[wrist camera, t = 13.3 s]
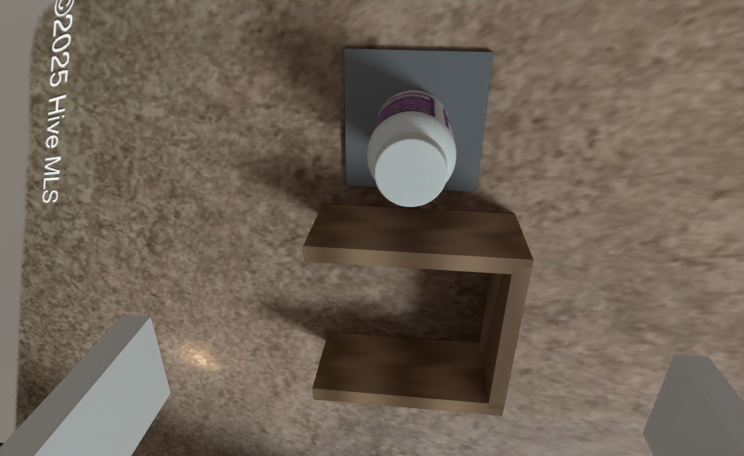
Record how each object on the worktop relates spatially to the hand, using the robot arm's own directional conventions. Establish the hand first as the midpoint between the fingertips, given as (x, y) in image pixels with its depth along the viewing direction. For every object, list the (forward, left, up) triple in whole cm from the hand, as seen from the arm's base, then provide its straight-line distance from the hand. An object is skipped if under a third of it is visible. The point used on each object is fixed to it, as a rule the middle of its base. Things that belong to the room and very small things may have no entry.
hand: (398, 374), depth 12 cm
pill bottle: (0, 0, -24) cm, 24 cm away
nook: (-9, -10, -25) cm, 28 cm away
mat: (0, 0, -25) cm, 25 cm away
